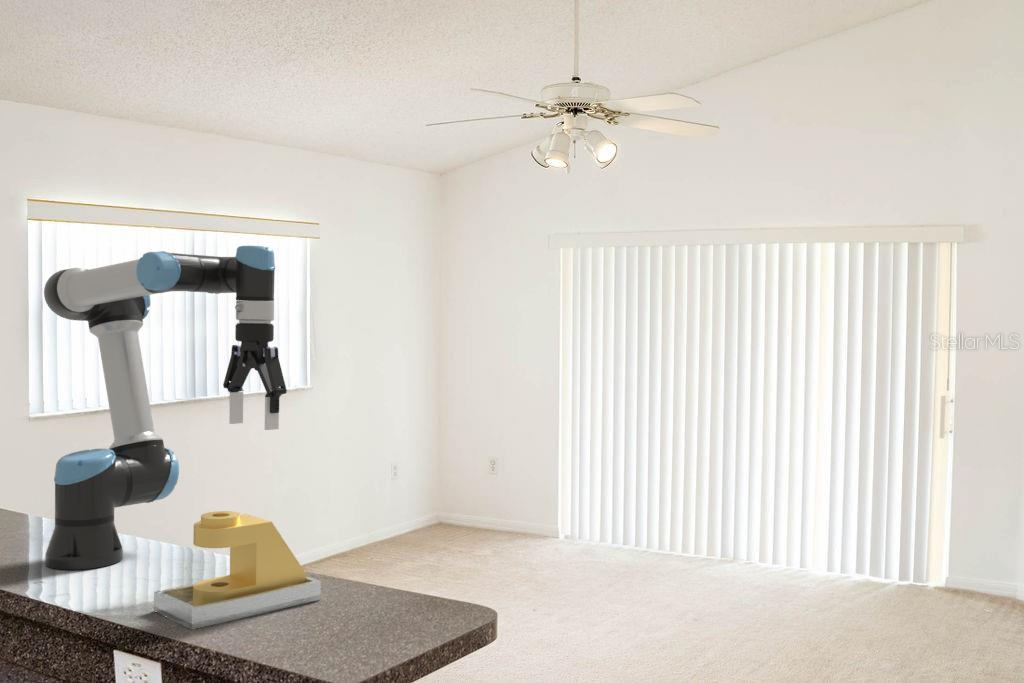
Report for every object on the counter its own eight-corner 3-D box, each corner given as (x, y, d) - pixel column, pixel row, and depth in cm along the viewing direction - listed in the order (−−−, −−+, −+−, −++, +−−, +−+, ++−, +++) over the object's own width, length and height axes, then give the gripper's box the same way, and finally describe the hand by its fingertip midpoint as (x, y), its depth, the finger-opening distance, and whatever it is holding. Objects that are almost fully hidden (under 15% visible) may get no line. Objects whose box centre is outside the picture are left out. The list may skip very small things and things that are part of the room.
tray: (153, 611, 172) (154, 591, 172) (280, 584, 191) (280, 566, 191) (191, 629, 162) (192, 609, 162) (320, 599, 181) (321, 581, 181)
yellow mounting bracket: (208, 614, 167) (209, 522, 167) (183, 602, 173) (184, 514, 173) (306, 592, 181) (307, 507, 181) (279, 582, 188) (280, 500, 188)
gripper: (207, 321, 201) (206, 422, 201) (271, 323, 184) (270, 433, 184) (239, 321, 206) (238, 419, 207) (305, 323, 189) (303, 430, 189)
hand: (253, 426), depth 195 cm, fingers open, 13 cm apart
